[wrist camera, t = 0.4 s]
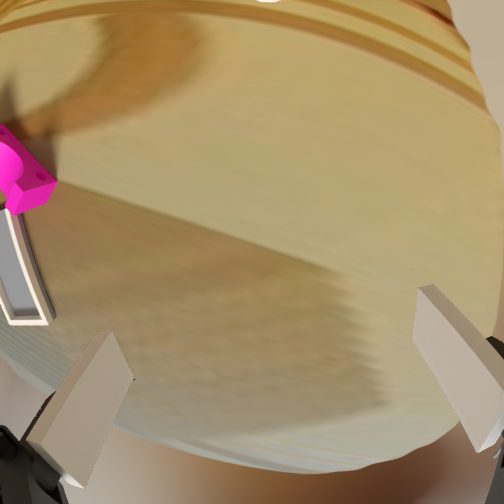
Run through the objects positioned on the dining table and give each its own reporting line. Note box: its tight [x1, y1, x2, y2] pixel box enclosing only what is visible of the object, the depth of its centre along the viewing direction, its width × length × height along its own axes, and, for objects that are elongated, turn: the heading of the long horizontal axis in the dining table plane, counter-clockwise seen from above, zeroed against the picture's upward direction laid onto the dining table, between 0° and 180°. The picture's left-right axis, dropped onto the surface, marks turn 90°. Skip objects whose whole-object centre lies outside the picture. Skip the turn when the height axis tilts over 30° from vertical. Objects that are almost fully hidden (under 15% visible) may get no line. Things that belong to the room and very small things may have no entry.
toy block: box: [0, 124, 57, 216], centre depth 30 cm, size 15×6×8 cm, turn 47°
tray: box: [0, 208, 56, 325], centre depth 37 cm, size 19×11×2 cm, turn 9°
